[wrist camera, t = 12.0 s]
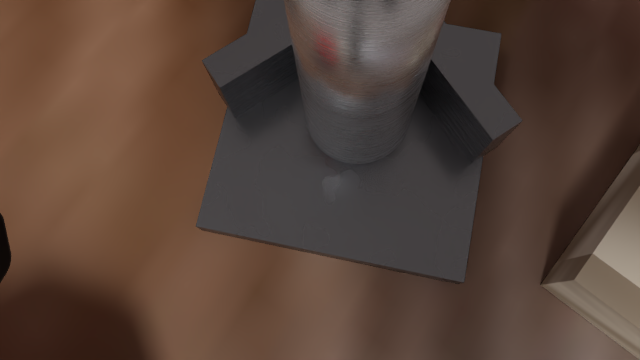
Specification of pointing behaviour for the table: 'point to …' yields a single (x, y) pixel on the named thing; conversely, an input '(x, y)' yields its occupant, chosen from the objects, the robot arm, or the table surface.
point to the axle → (362, 70)
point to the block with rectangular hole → (606, 263)
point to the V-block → (345, 178)
